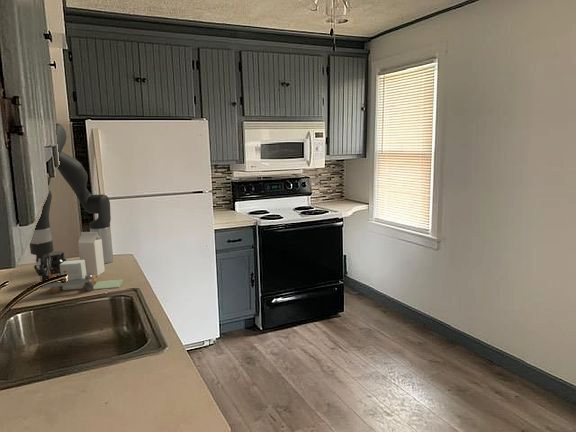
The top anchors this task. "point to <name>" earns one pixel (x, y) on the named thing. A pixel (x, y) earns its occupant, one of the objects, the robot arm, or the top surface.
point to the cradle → (87, 285)
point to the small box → (73, 272)
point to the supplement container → (56, 263)
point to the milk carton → (91, 252)
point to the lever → (68, 282)
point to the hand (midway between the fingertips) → (46, 284)
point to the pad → (107, 284)
